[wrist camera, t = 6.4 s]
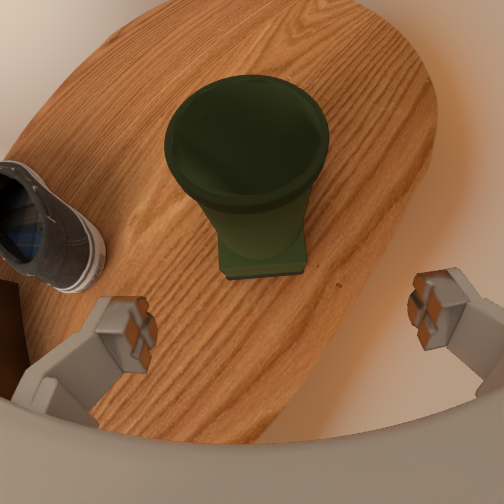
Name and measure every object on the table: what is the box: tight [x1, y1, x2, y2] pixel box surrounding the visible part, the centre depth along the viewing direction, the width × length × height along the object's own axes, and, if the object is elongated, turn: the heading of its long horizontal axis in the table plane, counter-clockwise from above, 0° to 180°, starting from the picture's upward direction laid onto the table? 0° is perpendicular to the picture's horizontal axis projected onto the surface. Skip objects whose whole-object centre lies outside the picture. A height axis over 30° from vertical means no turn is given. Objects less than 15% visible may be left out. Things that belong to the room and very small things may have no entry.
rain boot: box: [164, 75, 329, 280], centre depth 16 cm, size 11×6×13 cm, turn 4°
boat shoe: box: [0, 160, 106, 293], centre depth 20 cm, size 26×9×8 cm, turn 59°
